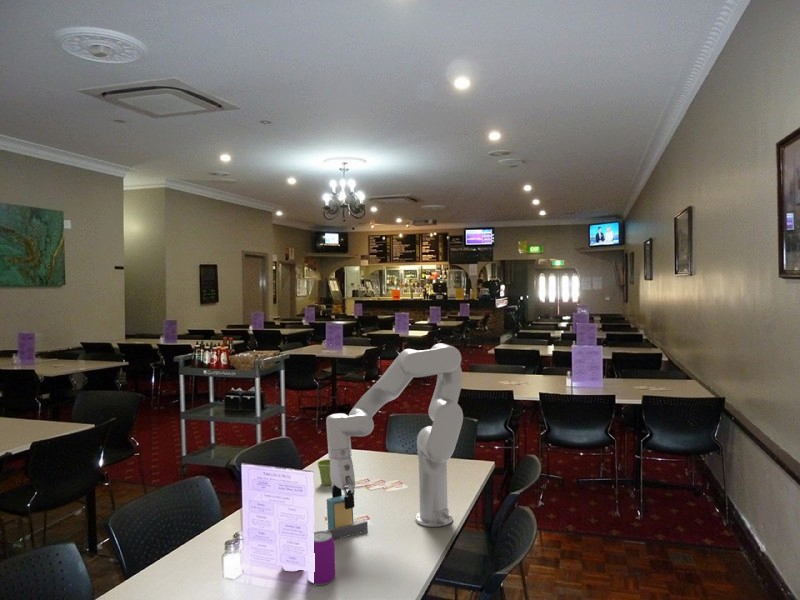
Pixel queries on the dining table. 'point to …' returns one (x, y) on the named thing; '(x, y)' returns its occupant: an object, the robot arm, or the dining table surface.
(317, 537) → the beverage can
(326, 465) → the plant pot
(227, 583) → the dining table surface
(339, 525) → the tea box
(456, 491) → the dining table surface
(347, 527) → the rail
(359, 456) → the dining table surface
